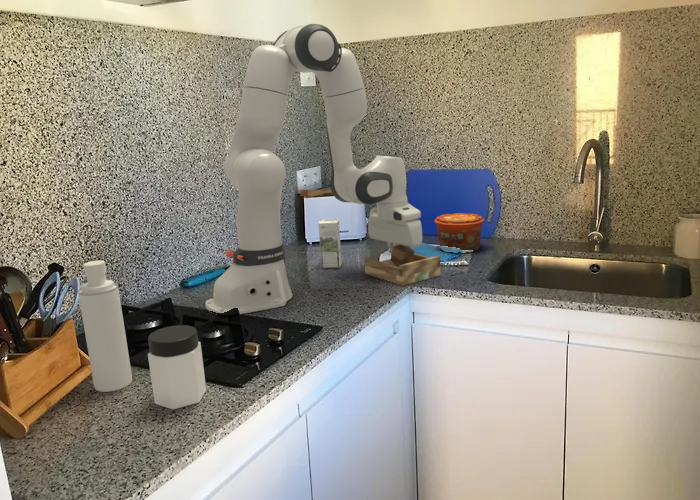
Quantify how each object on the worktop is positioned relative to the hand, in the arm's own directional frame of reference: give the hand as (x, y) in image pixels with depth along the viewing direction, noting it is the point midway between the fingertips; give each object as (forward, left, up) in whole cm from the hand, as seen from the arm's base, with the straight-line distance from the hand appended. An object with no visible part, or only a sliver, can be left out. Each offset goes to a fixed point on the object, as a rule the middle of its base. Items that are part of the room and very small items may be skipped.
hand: (395, 257), depth 175 cm
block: (0, -3, -1) cm, 3 cm away
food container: (+31, +6, -5) cm, 32 cm away
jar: (-77, -35, -5) cm, 85 cm away
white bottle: (-85, -21, -4) cm, 88 cm away
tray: (-1, -4, -4) cm, 6 cm away
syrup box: (-10, +19, -5) cm, 22 cm away
